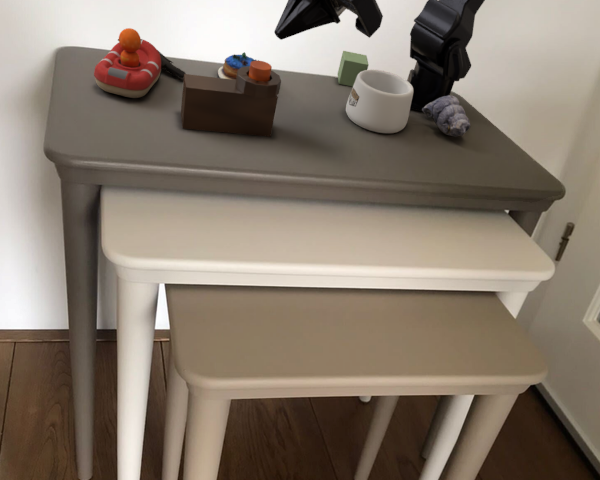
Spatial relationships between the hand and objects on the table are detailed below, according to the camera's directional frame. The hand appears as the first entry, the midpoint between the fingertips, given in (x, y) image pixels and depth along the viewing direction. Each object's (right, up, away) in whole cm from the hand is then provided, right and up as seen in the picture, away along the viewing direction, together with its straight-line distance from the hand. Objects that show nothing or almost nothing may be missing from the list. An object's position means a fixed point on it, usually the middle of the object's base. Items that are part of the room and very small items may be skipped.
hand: (277, 36), depth 85 cm
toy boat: (-21, -2, +10) cm, 24 cm away
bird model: (-20, +2, +13) cm, 24 cm away
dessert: (-6, +1, +18) cm, 19 cm away
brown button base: (-7, -9, +6) cm, 14 cm away
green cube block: (+11, +4, +26) cm, 29 cm away
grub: (+26, -6, +20) cm, 33 cm away
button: (-3, -4, +3) cm, 6 cm away
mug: (+14, -4, +18) cm, 24 cm away
